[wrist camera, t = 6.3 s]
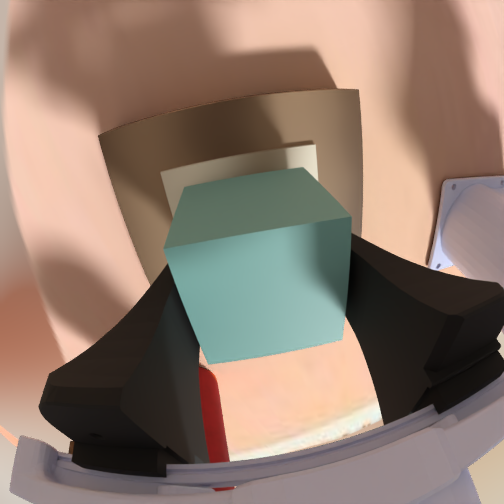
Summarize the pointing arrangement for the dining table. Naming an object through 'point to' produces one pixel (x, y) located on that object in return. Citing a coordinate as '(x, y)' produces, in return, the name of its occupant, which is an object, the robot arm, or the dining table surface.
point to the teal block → (261, 263)
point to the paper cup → (213, 420)
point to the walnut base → (232, 155)
